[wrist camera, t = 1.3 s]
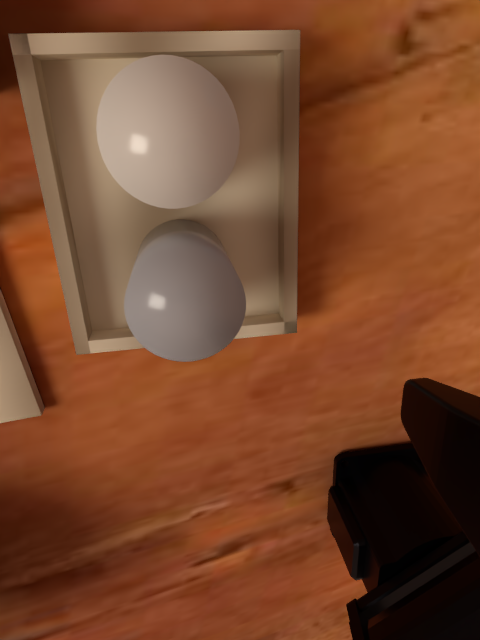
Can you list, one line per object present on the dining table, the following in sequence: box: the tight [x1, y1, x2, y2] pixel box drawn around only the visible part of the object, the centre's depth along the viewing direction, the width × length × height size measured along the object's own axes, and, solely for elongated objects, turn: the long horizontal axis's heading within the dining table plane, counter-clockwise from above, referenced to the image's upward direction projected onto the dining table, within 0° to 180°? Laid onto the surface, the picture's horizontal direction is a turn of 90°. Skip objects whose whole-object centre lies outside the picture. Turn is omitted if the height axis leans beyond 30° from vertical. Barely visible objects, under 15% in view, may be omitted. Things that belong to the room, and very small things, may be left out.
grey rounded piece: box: [124, 219, 246, 362], centre depth 17 cm, size 4×4×6 cm
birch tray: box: [8, 30, 300, 355], centre depth 18 cm, size 10×12×2 cm
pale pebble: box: [96, 55, 240, 209], centre depth 15 cm, size 4×4×6 cm
